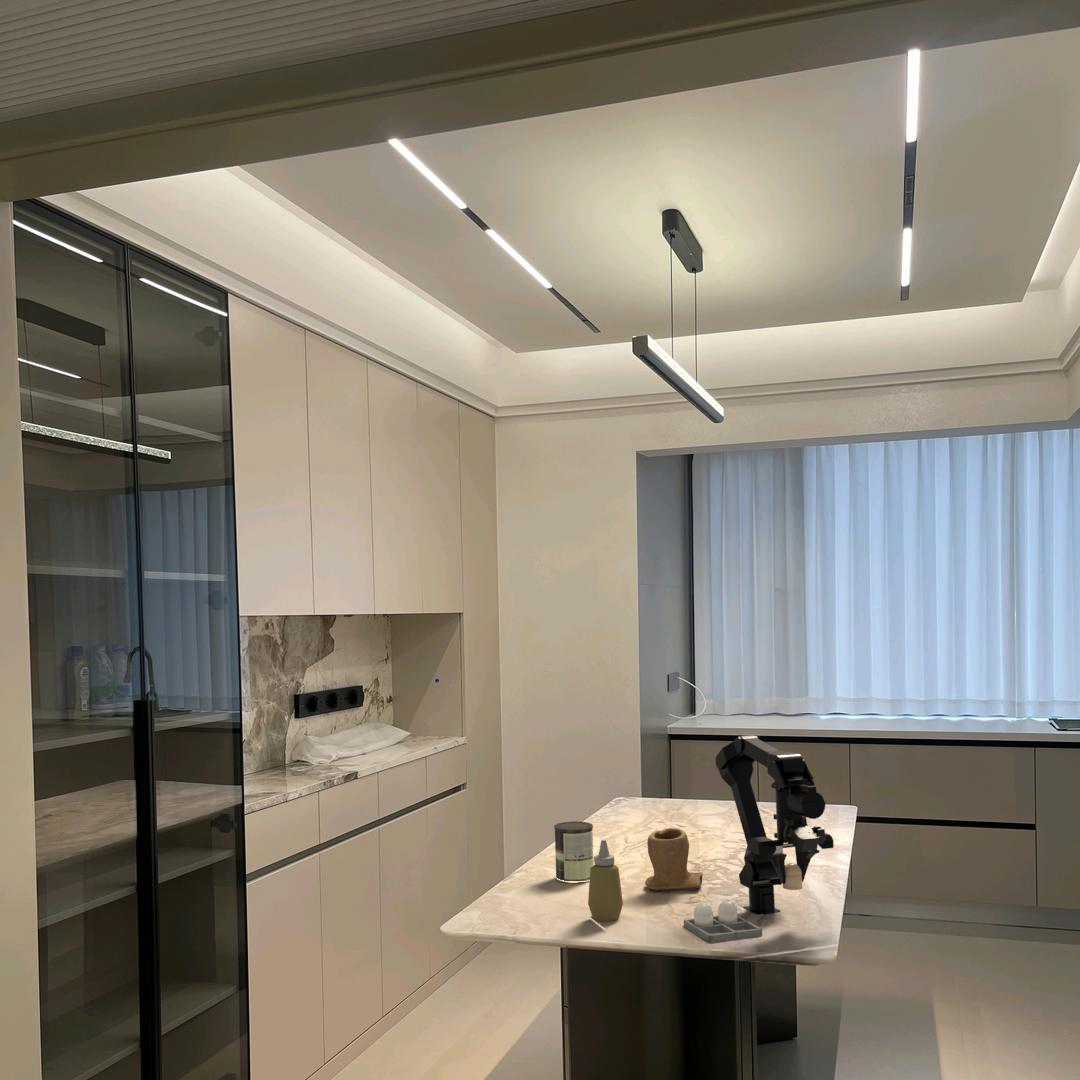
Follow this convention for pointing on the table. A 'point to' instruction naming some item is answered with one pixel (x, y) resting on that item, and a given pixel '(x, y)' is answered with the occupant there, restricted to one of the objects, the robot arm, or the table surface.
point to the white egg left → (727, 912)
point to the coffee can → (573, 850)
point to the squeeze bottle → (605, 887)
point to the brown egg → (793, 877)
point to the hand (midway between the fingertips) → (792, 882)
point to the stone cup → (670, 861)
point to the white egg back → (703, 915)
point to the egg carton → (724, 930)
